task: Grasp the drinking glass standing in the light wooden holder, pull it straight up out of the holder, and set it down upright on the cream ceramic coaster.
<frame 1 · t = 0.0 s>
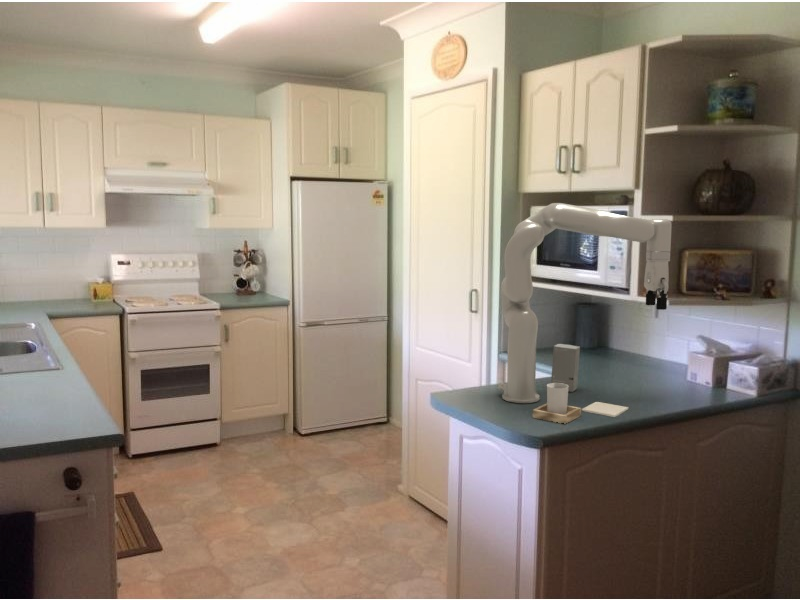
hand: (655, 307, 241), 31 cm above the countertop, fingers open, 9 cm apart
skincare box: (564, 389, 257), on the countertop
glass holder: (556, 416, 225), on the countertop
drinking glass: (556, 417, 225), resting in glass holder
coaster: (605, 410, 231), on the countertop
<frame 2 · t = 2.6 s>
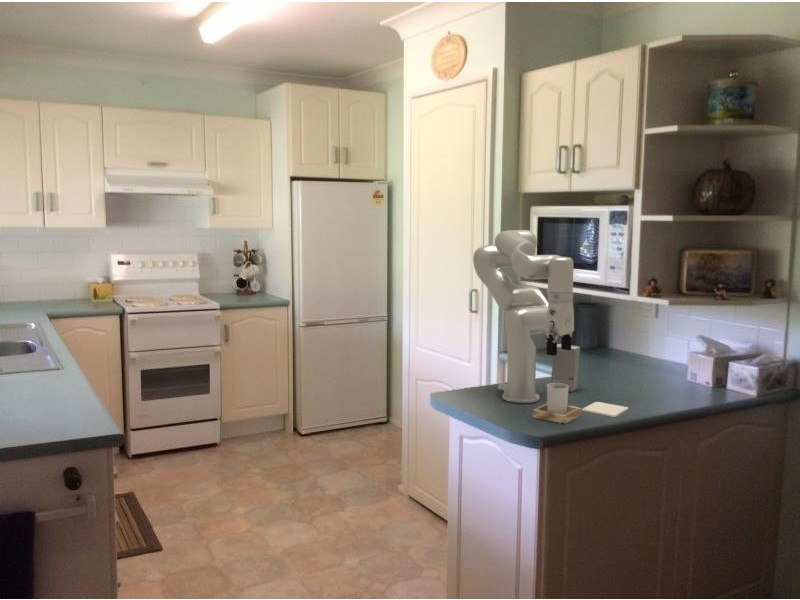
hand: (559, 352, 221), 21 cm above the countertop, fingers open, 9 cm apart
nothing on the countertop moved.
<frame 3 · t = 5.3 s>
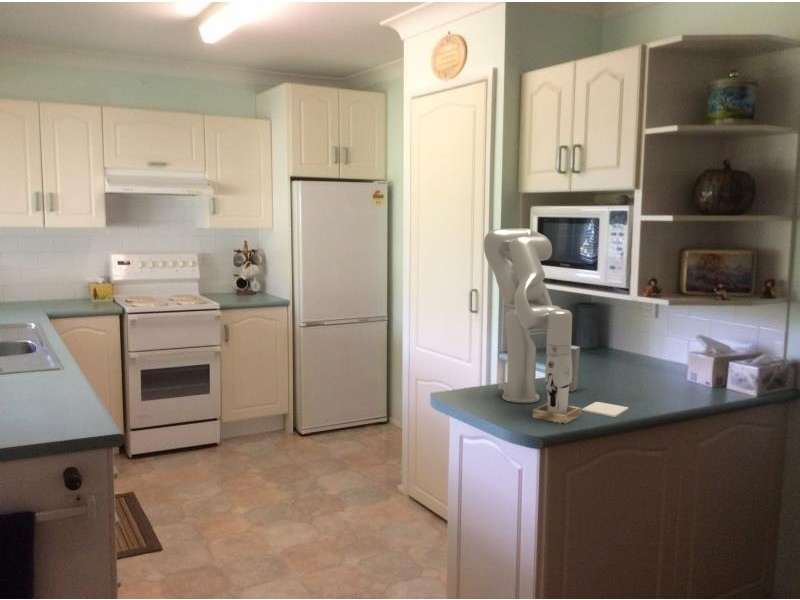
hand: (557, 406, 224), 3 cm above the countertop, fingers closed on drinking glass, 3 cm apart
drinking glass: (557, 417, 225), resting in glass holder, touching gripper
everything else where it was.
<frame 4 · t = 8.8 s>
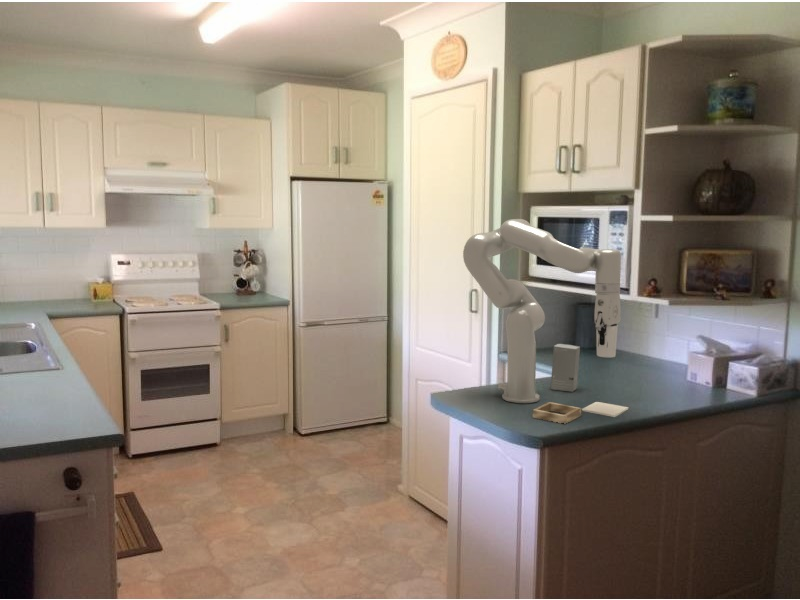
hand: (605, 345, 228), 21 cm above the countertop, fingers closed on drinking glass, 3 cm apart
drinking glass: (606, 356, 228), point 18 cm above the countertop, touching gripper
everything else where it was.
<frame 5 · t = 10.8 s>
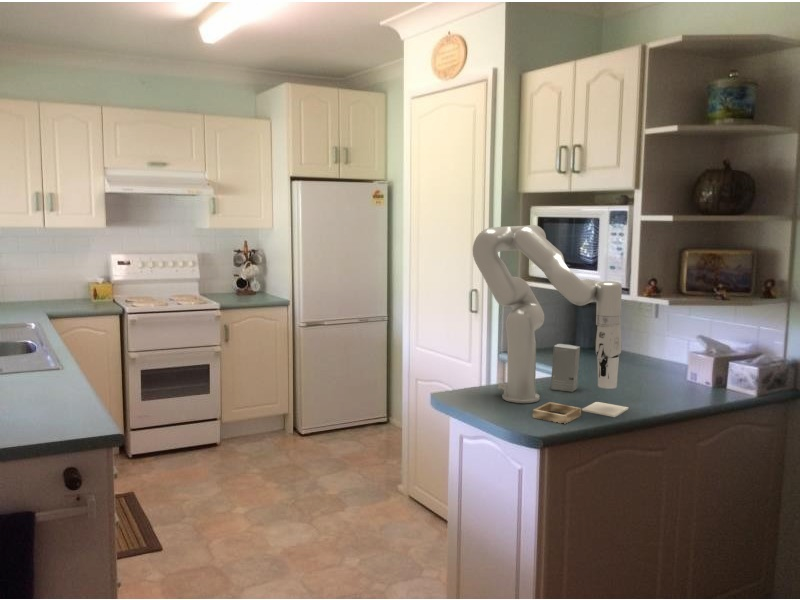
hand: (607, 376, 230), 11 cm above the countertop, fingers closed on drinking glass, 3 cm apart
drinking glass: (607, 387, 230), point 8 cm above the countertop, touching gripper
everything else where it was.
when the fingers open (5 cm above the countertop, at t = 12.6 s): drinking glass drops 1 cm, resting on coaster.
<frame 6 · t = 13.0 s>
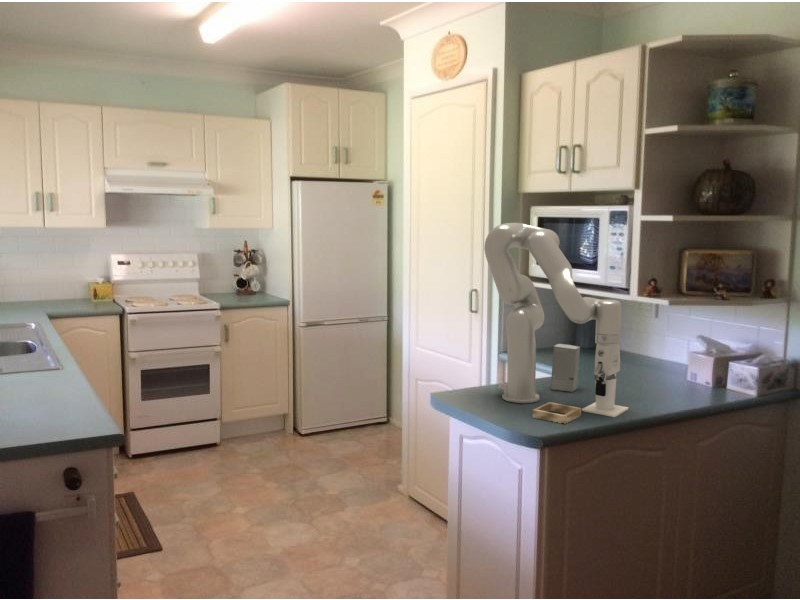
hand: (605, 392, 230), 6 cm above the countertop, fingers open, 7 cm apart
drinking glass: (604, 407, 232), point 1 cm above the countertop, touching coaster
everything else where it was.
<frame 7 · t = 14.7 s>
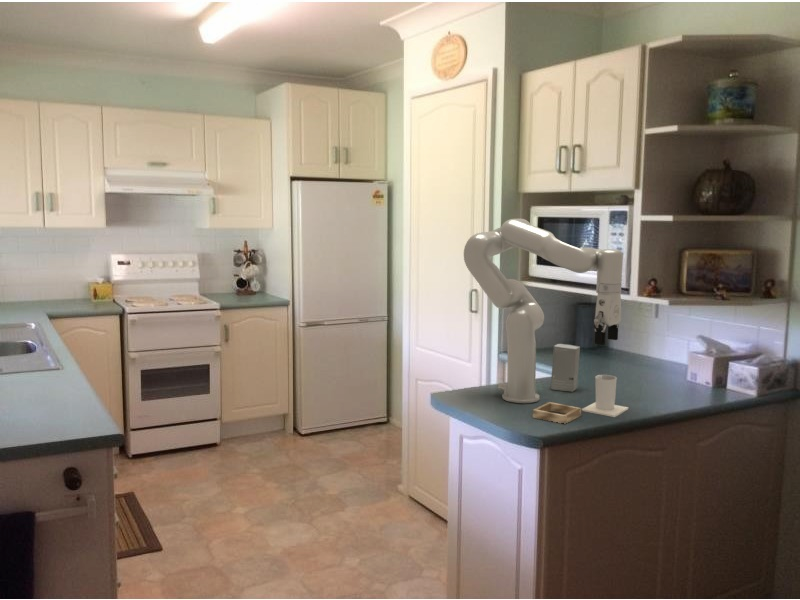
hand: (606, 341, 229), 22 cm above the countertop, fingers open, 9 cm apart
nothing on the countertop moved.
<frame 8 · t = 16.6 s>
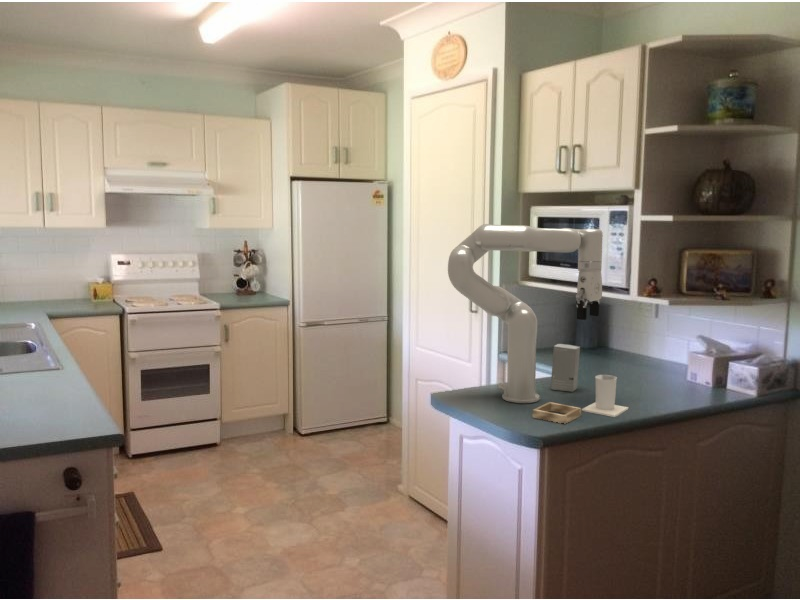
hand: (588, 317, 239), 28 cm above the countertop, fingers open, 9 cm apart
nothing on the countertop moved.
at the end: drinking glass 0.9 cm off-centre on the coaster, point 0.4 cm above the coaster's base; drinking glass tilted 0°; the gripper is holding nothing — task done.
